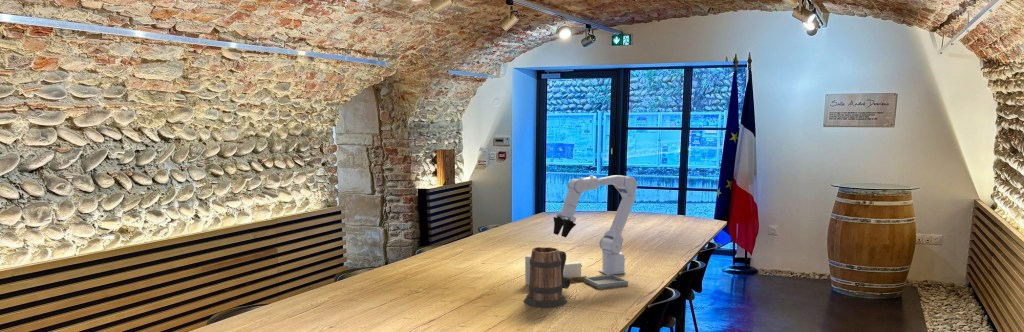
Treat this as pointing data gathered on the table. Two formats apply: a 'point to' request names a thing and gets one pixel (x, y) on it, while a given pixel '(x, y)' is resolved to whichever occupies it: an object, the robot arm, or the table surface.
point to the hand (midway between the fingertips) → (559, 235)
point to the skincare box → (527, 269)
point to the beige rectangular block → (572, 269)
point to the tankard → (547, 278)
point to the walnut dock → (577, 279)
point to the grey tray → (606, 281)
